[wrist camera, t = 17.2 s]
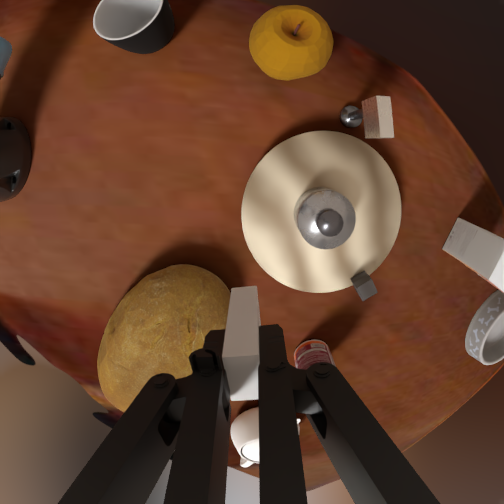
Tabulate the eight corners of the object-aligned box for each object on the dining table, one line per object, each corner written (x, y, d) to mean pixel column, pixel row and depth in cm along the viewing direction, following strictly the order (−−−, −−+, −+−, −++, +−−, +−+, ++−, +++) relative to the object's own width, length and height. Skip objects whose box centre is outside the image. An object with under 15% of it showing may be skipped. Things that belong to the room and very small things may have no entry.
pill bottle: (286, 351, 49) (293, 399, 38) (315, 331, 47) (330, 377, 37) (307, 370, 50) (317, 417, 40) (335, 352, 49) (351, 397, 38)
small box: (440, 249, 43) (487, 280, 30) (457, 216, 41) (508, 239, 28) (466, 267, 44) (510, 298, 32) (482, 236, 42) (529, 262, 30)
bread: (256, 287, 45) (257, 324, 36) (170, 413, 55) (161, 449, 46) (147, 228, 42) (120, 250, 33) (92, 373, 52) (73, 405, 42)
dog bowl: (500, 350, 52) (511, 362, 47) (453, 358, 51) (464, 373, 46) (526, 288, 46) (540, 298, 41) (482, 287, 46) (497, 299, 41)
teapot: (269, 449, 59) (271, 486, 49) (215, 435, 57) (210, 473, 47) (324, 394, 52) (334, 436, 42) (261, 374, 51) (263, 419, 40)
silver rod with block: (341, 139, 38) (374, 137, 27) (338, 106, 36) (369, 92, 25) (361, 139, 37) (399, 137, 26) (358, 106, 36) (395, 94, 25)
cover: (307, 248, 40) (315, 263, 34) (284, 201, 38) (289, 210, 32) (353, 225, 38) (368, 236, 33) (332, 177, 36) (345, 182, 31)
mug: (195, 25, 32) (179, -6, 22) (153, 71, 34) (125, 52, 25) (138, -5, 30) (113, -34, 20) (100, 38, 32) (66, 18, 22)
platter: (297, 319, 45) (300, 335, 41) (209, 186, 38) (204, 191, 34) (419, 246, 41) (433, 256, 37) (352, 103, 34) (363, 98, 30)
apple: (279, 103, 36) (290, 84, 25) (233, 52, 34) (226, 18, 23) (334, 66, 34) (363, 39, 23) (289, 16, 32) (301, -24, 21)
